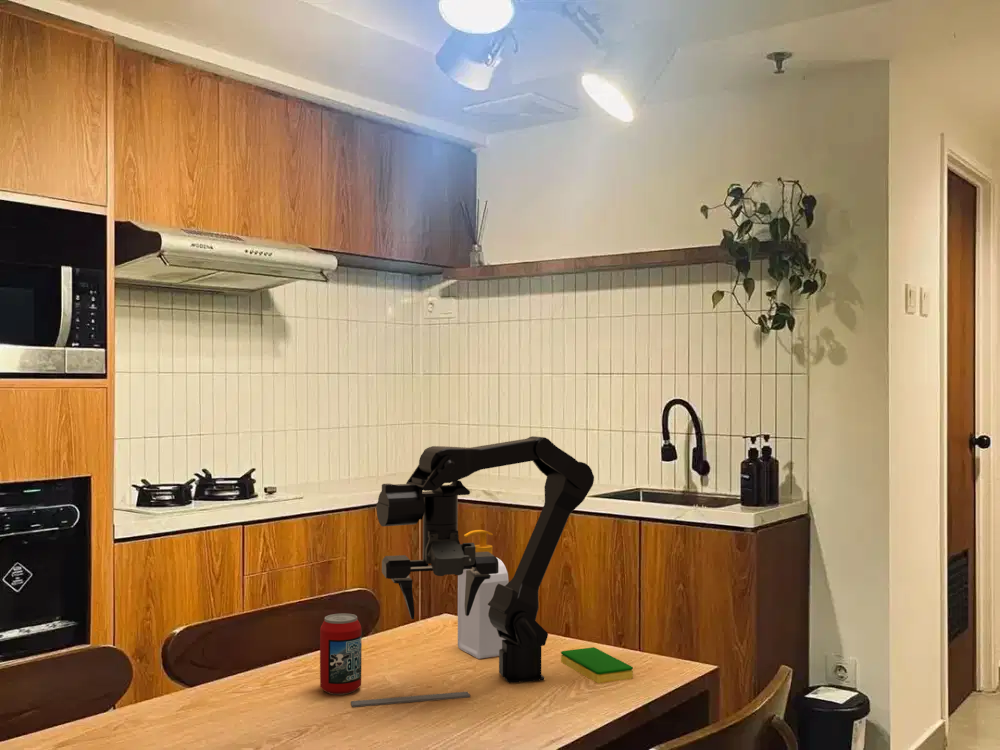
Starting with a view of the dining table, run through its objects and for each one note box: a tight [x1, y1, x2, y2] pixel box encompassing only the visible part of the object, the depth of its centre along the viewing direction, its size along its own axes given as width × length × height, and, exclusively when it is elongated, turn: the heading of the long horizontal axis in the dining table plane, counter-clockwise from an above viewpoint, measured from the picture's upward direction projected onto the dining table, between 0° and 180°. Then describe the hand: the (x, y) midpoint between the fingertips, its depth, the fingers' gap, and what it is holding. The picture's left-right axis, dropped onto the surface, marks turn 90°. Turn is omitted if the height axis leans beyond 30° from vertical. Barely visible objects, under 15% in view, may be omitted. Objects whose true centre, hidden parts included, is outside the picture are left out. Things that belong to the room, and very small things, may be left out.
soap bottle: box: [457, 529, 510, 660], centre depth 182 cm, size 9×7×23 cm
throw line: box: [350, 691, 471, 708], centre depth 154 cm, size 19×2×1 cm, turn 105°
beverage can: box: [319, 613, 363, 696], centre depth 159 cm, size 7×7×12 cm
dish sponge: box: [560, 647, 634, 684], centre depth 171 cm, size 7×14×2 cm, turn 24°
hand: (439, 617), depth 160 cm, fingers open, 9 cm apart
